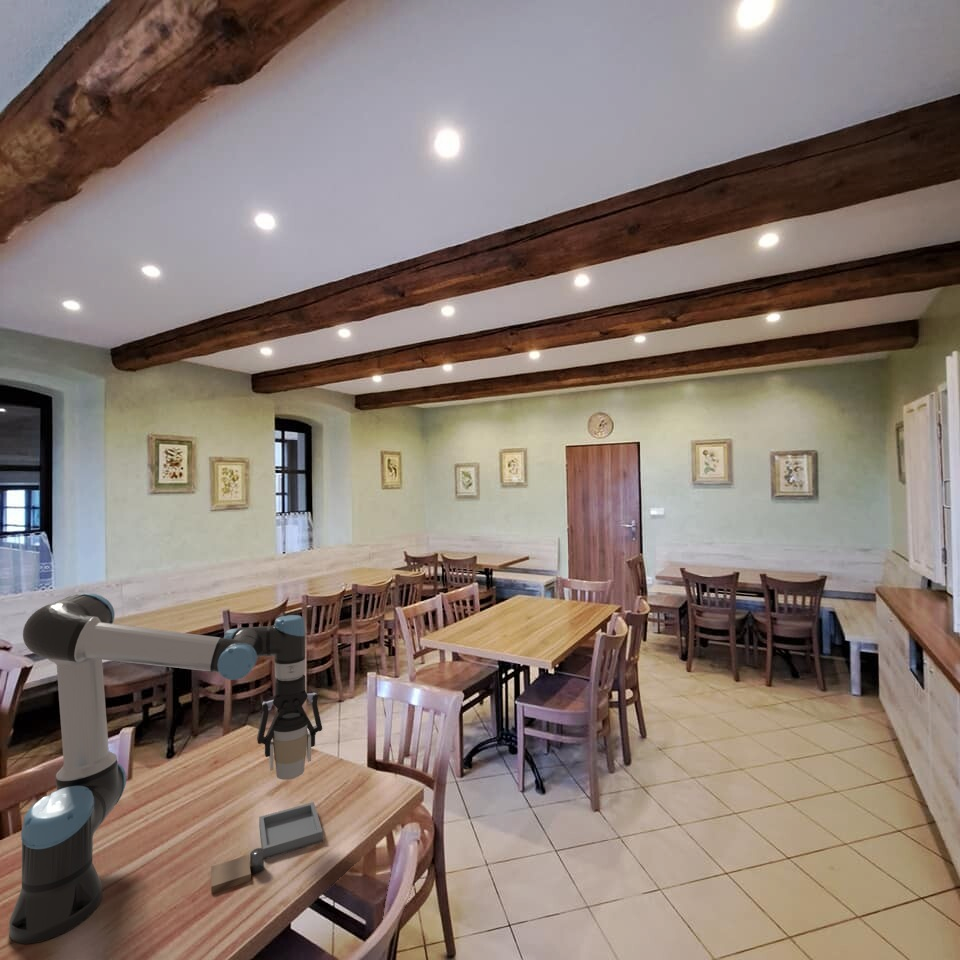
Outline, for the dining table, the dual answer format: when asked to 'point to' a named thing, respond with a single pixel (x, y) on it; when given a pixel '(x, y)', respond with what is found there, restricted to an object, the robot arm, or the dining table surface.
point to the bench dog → (257, 861)
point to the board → (230, 874)
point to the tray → (290, 830)
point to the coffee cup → (290, 745)
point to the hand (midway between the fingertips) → (290, 763)
